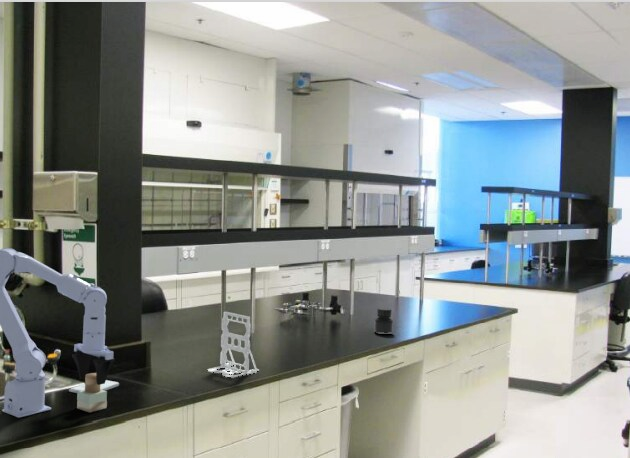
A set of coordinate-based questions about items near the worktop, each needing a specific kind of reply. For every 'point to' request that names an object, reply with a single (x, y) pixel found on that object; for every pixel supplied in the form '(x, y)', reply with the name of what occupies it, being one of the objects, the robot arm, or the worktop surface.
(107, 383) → the external hard drive
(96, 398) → the slab upper
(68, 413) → the worktop surface
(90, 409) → the slab lower
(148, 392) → the worktop surface
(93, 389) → the beech cylinder
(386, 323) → the ink bottle
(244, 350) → the grey upright openwork frame
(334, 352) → the worktop surface
